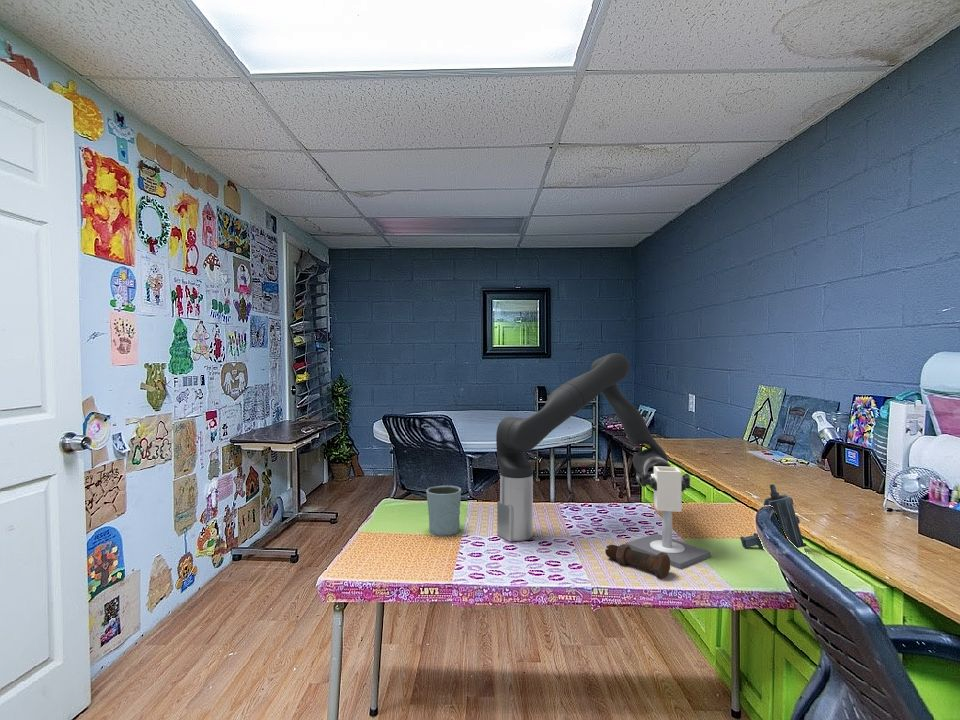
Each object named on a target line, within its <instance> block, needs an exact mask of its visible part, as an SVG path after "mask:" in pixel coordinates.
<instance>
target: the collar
mask: <svg viewBox="0 0 960 720" xmlns="http://www.w3.org/2000/svg"><path fill="white" fill-rule="evenodd" d="M681 476H682V471H681V470H680V469H679V468H678V467H677V466H671V467H661V466H654V479H655V480H656V482H657V491H656V490H654V489H653V504H654V505H653V506H654V507H655V509H656V511H657V512H658V511H659V512H662V511H672V512H674V513H675V512H679V513H681V512H682V505H683V503H682V497H683V496H682V492H681Z"/></svg>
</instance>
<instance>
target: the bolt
mask: <svg viewBox="0 0 960 720" xmlns="http://www.w3.org/2000/svg"><path fill="white" fill-rule="evenodd" d="M605 555H606V557H608V558H610V559H613V560H616V562H617V563H618V565H622V566H628V565H629V564H630V565H633V566H638V567H641V568H644V569H646V570H647V569H648V570H650V571H653V572H654V575H655V577H656V578H659V579H665V578H666V577H668V575H669V573H670V572H671V571H670V570H671V565H670V558H669V556H668V555H667V553H664V552H661V553H659V554H657V555H656V556H655V555H649V554H646V553H641V552H638V551H634V550H631V548H630V546H629V545H626V543H623V544H620V545H615V544H608V545H606V549H605Z"/></svg>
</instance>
